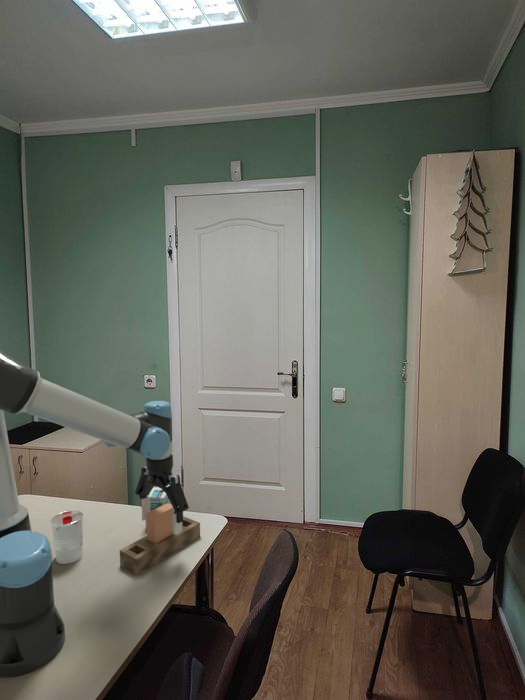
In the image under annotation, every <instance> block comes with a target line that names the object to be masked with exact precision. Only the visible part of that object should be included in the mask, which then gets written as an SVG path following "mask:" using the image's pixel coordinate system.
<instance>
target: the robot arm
mask: <svg viewBox="0 0 525 700" xmlns="http://www.w3.org/2000/svg"><path fill="white" fill-rule="evenodd" d="M143 406H144V407H143V411H139V412H135V413H130V414H129V413H128V414H127V413H125V412H122V411H120V410H118V409H115V408H112V407H110V406H109V405H105V404H103V403H101V402H99V401H96V400H94V399H92V398H89V397H86V396H84V395H82V394H79V393H77V392H75V391H73V390H70V389H68V388H66V387H62V386H61V385H58V384H56V383H54V382H51V381H49V380H47V379H44V378H42V377H41V373H40V372H39V371H38V370H35V369H33V368H31V367H29V366H27V365H25V364H23V363H21V362H20V361H18V360H16V359H15V358H13V357H12V356H10V355H8V354H7V353H5V352H4V351H2V350H1V349H0V677H3V678H5V677H16V676H21V675H25V674H27V673H30V672H32V671H35V670H37V669H39V668H41V667H42V666H44V665H45V664H47V663H48V662H50V661H51V660H52V659H53V658H54V657H55V656H56V655H57V654H58V653H59V652H60V650H62V649H61V648H62V647H63V646H64V643H65V640H66V628H65V623H64V621H63V619H62V616H61V615H60V613H59V610H58V608H57V607H56V604H55V596H54V595H55V593H54V578H53V577H54V576H53V574H54V573H53V562H52V561H53V550H52V547H51V543H50V540H49V538H48V537H47V536H46V535H45V534H44V533H41V532H39V531H32V526H31V521H30V515H29V511H28V510H29V509H28V507H26V506H25V505H22V504H20V501H19V496H18V489H17V481H16V477H15V471H14V466H13V460H12V454H11V448H10V442H9V436H8V430H7V425H6V417H5V412H7V413H10V414H13V415H19V414H21V413H26V414H29V415H32V416H34V417H37V418H39V419H43V420H46V421H47V422H48V421H49V422H50V423H52V424H53V423H54V424H57V425H60V426H61V427H65V428H67V429H71V430H73V431H76V432H79V433H81V434H84V435H88V436H89V437H90V436H91V437H92V438H95V439H98V440H101V441H103V442H104V445H105V446H106V447H110V448H111V447H121V448H123V449H125V450H127V451H131V452H134V453H136V454H138V455H141V456H142V457H143V458H145V466H144V467H141V470H140V477H139V480H138V483H137V486H136V488H135V491H134V493H135V495H136V496H138V497H139V499H140V508H141V521H145V520H146V519H147V514H146V513H148V512H150V511H151V507H150V496H148V495H150V494H149V493H150V492H151V490H152V489H153V487H154V486H156V487H159V488H161V489H162V490H163V492H165V493H166V495H167V497H168V499H169V500H170V502H171V504H172V506H173V508H174V510H175V511H174V512H173V534H175V535H176V534H177V533H179V532H181V531H182V522H183V516H184V512H185V511H187V510H189V504H188V501H187V498H186V496H185V493H184V490H183V486H182V484H181V477H180V475H179V474H176V475H173V474H172V469H173V467H174V455H173V451H174V450H173V413H172V405H171V403H170V402H168V401H165V400H152V401H149V402H146V403H145V404H144V405H143ZM168 485H170V486H168ZM167 486H168V487H167ZM147 496H148V497H147Z"/></svg>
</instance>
